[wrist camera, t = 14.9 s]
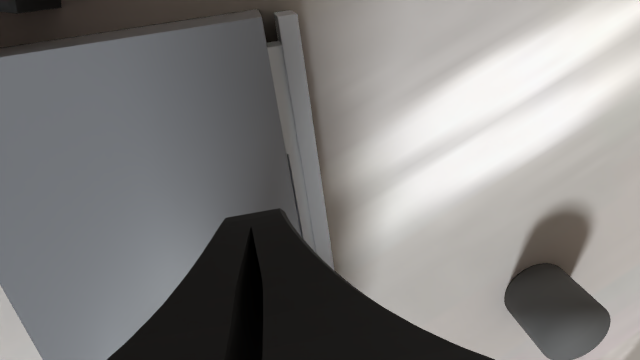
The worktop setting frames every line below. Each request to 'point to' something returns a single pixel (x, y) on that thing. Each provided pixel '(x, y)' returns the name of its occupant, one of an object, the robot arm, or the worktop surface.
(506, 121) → the worktop surface
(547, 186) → the worktop surface
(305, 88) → the tray
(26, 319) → the housing
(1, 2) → the portable cd player
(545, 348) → the dark grey cylinder
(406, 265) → the worktop surface
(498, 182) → the worktop surface
